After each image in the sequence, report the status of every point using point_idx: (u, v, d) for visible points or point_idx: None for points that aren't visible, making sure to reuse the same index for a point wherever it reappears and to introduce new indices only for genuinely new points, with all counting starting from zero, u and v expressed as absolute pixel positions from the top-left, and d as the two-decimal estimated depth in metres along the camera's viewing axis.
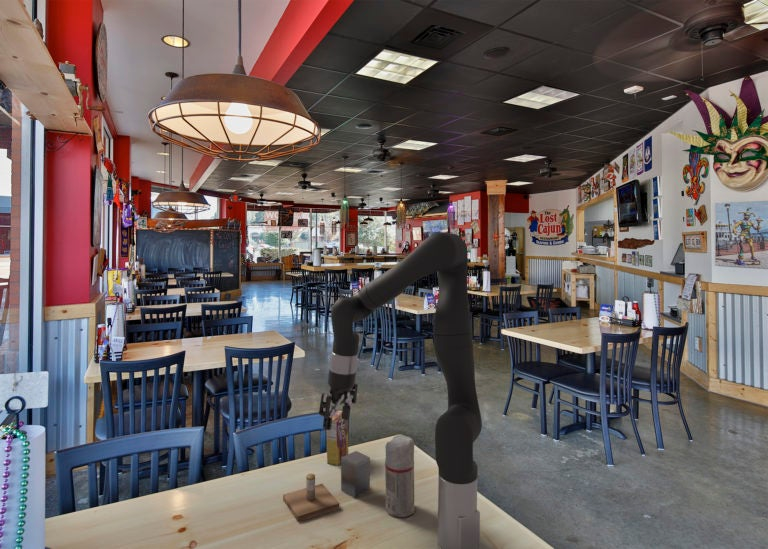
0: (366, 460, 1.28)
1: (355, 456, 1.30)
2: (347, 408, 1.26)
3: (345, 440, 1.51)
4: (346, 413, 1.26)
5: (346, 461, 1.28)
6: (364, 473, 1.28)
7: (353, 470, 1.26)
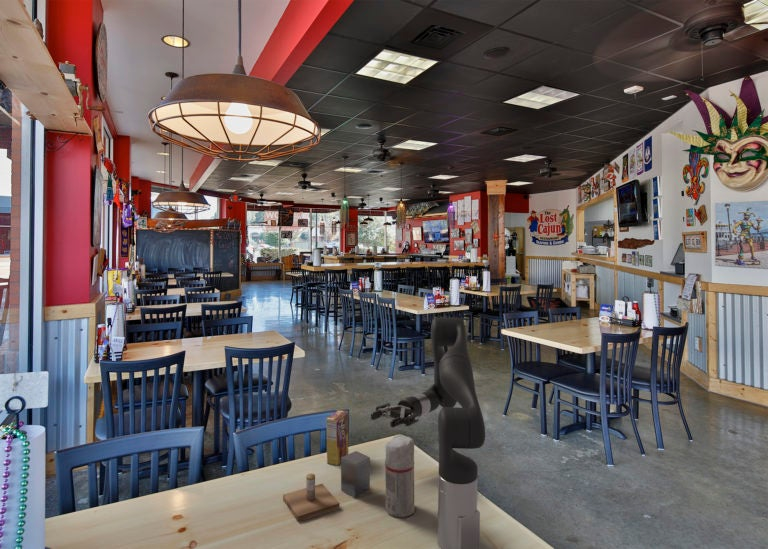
0: (366, 460, 1.28)
1: (355, 456, 1.30)
2: None
3: (345, 440, 1.51)
4: None
5: (346, 461, 1.28)
6: (364, 473, 1.28)
7: (353, 470, 1.26)
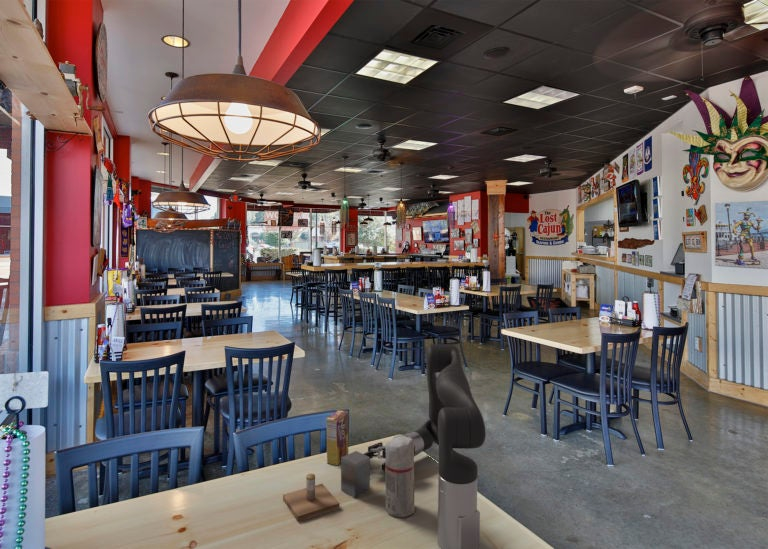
0: (366, 460, 1.28)
1: (355, 456, 1.30)
2: None
3: (345, 440, 1.51)
4: None
5: (346, 461, 1.28)
6: (364, 473, 1.28)
7: (353, 470, 1.26)
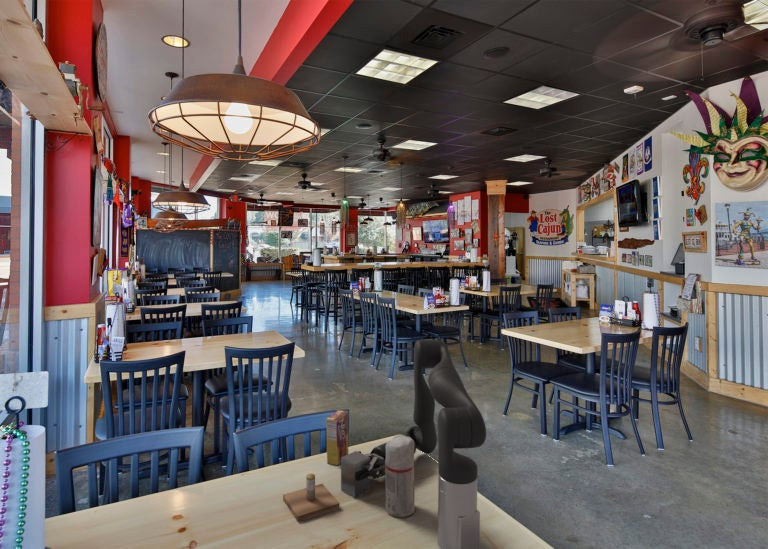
0: (366, 460, 1.28)
1: (355, 456, 1.30)
2: None
3: (345, 440, 1.51)
4: None
5: (346, 461, 1.28)
6: None
7: (353, 470, 1.26)
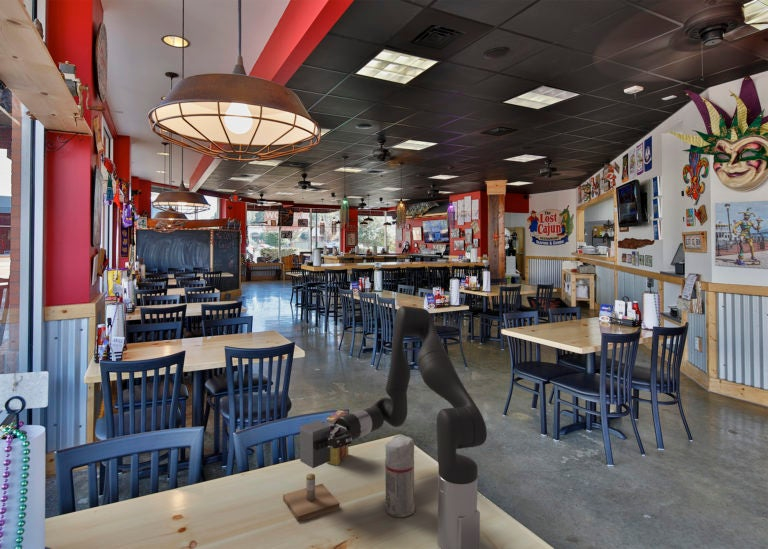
0: (326, 429, 1.22)
1: (315, 425, 1.23)
2: None
3: None
4: None
5: (305, 430, 1.21)
6: None
7: (311, 439, 1.19)
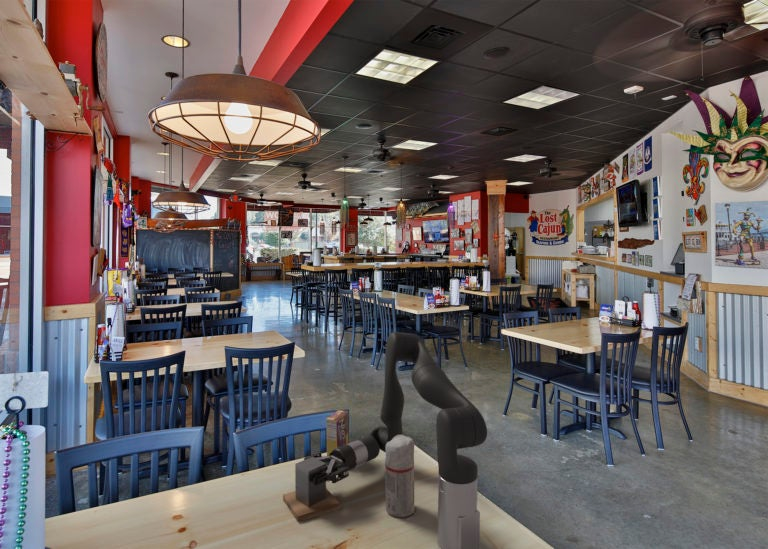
0: (322, 467, 1.21)
1: (310, 462, 1.23)
2: None
3: (345, 440, 1.51)
4: None
5: (300, 468, 1.20)
6: None
7: (307, 478, 1.18)
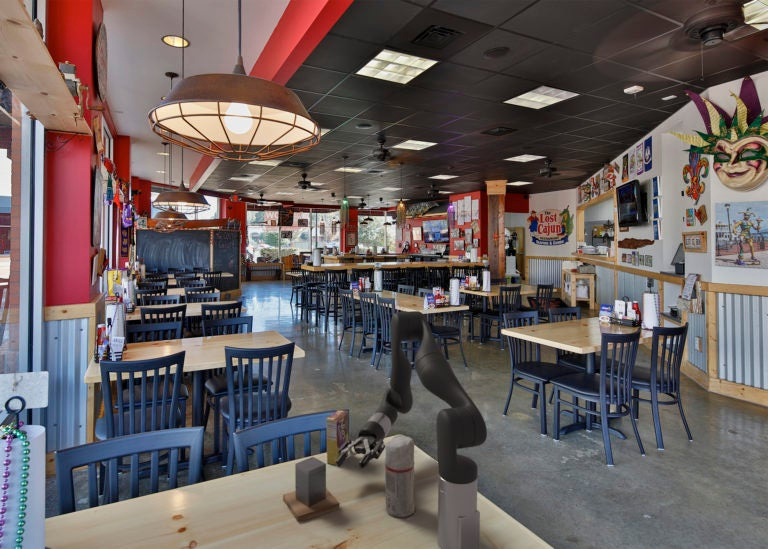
0: (322, 467, 1.21)
1: (310, 462, 1.23)
2: None
3: (345, 440, 1.51)
4: None
5: (300, 468, 1.20)
6: (319, 480, 1.21)
7: (307, 478, 1.18)
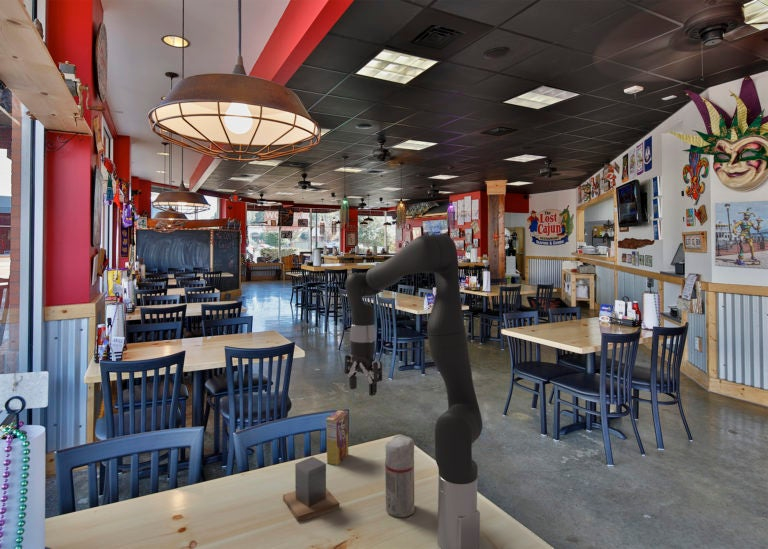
0: (322, 467, 1.21)
1: (310, 462, 1.23)
2: None
3: (345, 440, 1.51)
4: None
5: (300, 468, 1.20)
6: (319, 480, 1.21)
7: (307, 478, 1.18)
